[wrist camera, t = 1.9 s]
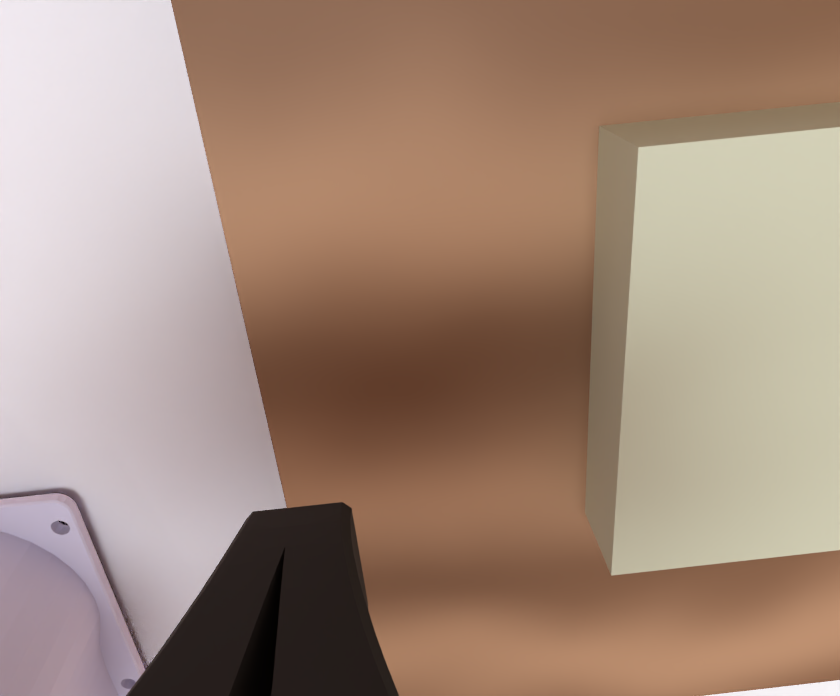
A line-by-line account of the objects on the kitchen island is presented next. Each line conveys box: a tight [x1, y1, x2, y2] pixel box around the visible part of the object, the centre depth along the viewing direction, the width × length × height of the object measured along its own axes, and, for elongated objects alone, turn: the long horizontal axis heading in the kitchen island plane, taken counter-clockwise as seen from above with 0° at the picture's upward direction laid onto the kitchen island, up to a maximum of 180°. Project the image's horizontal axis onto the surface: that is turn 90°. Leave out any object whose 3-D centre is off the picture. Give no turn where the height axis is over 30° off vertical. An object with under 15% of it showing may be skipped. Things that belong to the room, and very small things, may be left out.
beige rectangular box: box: [585, 102, 840, 576], centre depth 13 cm, size 9×6×2 cm, turn 5°
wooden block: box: [171, 0, 840, 696], centre depth 16 cm, size 24×16×4 cm, turn 5°
